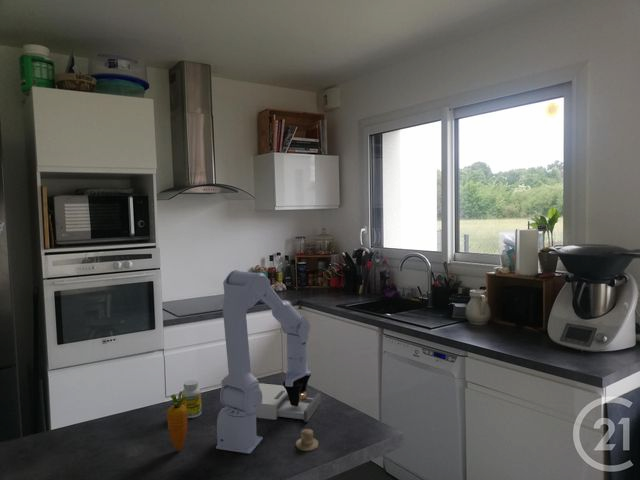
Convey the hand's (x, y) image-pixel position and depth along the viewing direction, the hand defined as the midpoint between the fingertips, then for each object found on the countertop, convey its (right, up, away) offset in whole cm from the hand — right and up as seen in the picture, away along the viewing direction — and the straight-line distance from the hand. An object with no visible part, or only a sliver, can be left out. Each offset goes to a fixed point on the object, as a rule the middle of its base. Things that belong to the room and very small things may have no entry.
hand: (297, 401), depth 139 cm
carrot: (-29, -5, -21) cm, 36 cm away
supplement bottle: (-31, -4, -1) cm, 31 cm away
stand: (+3, -4, -20) cm, 20 cm away
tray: (-1, -3, +1) cm, 3 cm away
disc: (0, +1, 0) cm, 1 cm away
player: (-11, -3, +3) cm, 12 cm away
